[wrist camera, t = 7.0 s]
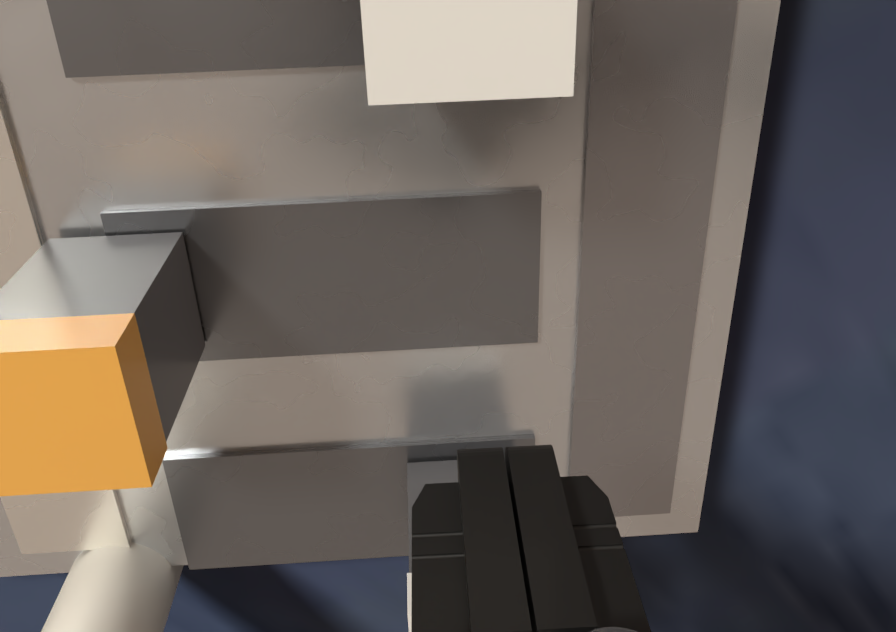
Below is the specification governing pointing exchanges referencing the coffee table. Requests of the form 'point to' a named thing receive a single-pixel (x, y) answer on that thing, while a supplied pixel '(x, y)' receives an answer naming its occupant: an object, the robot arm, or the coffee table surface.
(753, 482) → the coffee table surface
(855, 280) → the coffee table surface
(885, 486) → the coffee table surface
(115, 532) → the breaker panel
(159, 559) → the post
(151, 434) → the toggle
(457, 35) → the toggle
